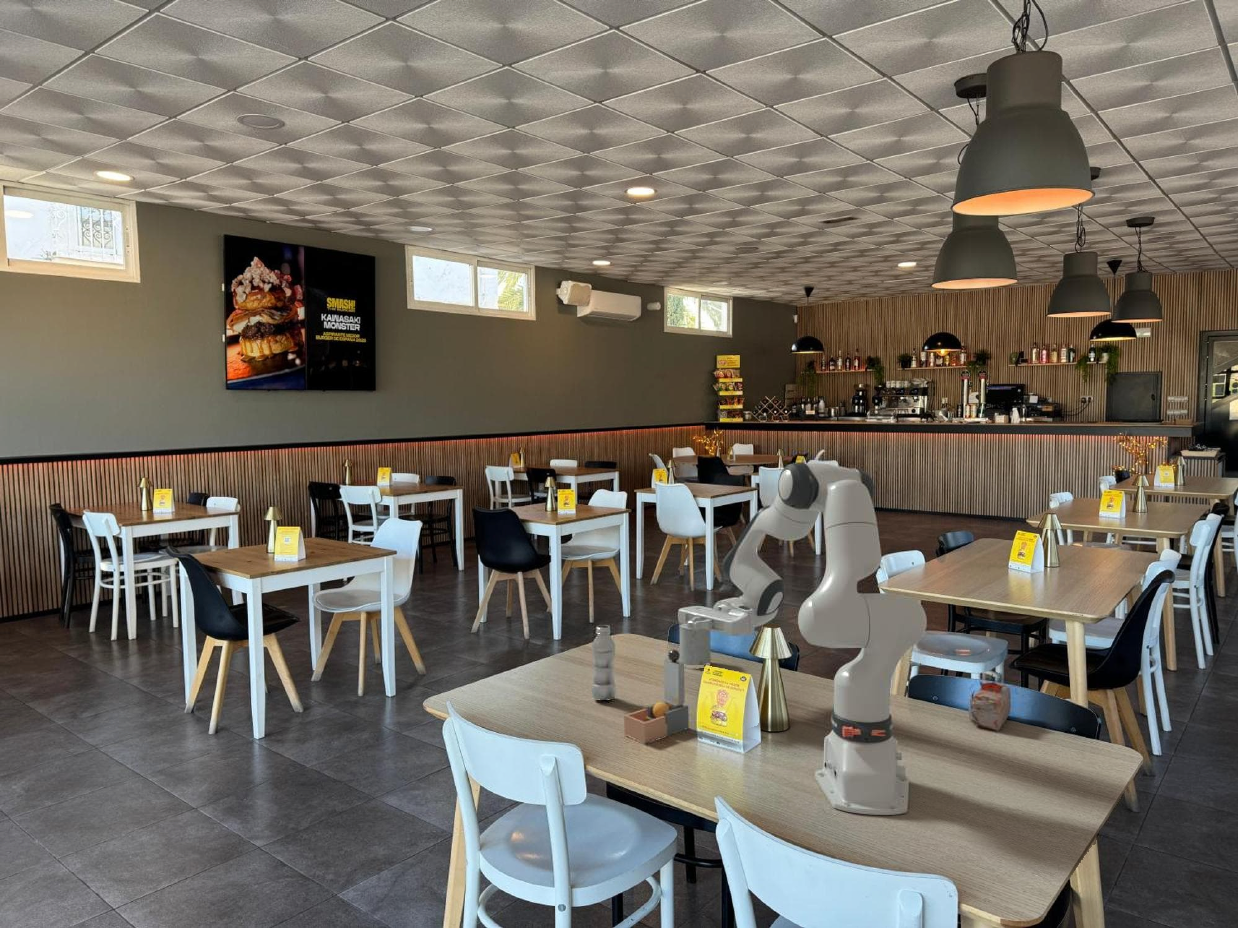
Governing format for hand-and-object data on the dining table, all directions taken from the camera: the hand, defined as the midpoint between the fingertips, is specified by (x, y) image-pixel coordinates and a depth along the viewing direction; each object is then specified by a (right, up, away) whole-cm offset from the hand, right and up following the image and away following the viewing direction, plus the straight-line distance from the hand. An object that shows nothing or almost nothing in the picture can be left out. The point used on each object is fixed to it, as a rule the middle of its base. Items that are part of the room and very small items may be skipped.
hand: (691, 625), depth 206 cm
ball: (-8, -19, -6) cm, 22 cm away
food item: (+73, -23, -3) cm, 77 cm away
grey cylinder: (+5, -22, +48) cm, 53 cm away
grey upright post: (-5, -21, -3) cm, 22 cm away
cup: (-12, -25, -9) cm, 29 cm away
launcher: (-6, -24, -4) cm, 25 cm away
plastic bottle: (-22, -24, +17) cm, 37 cm away
